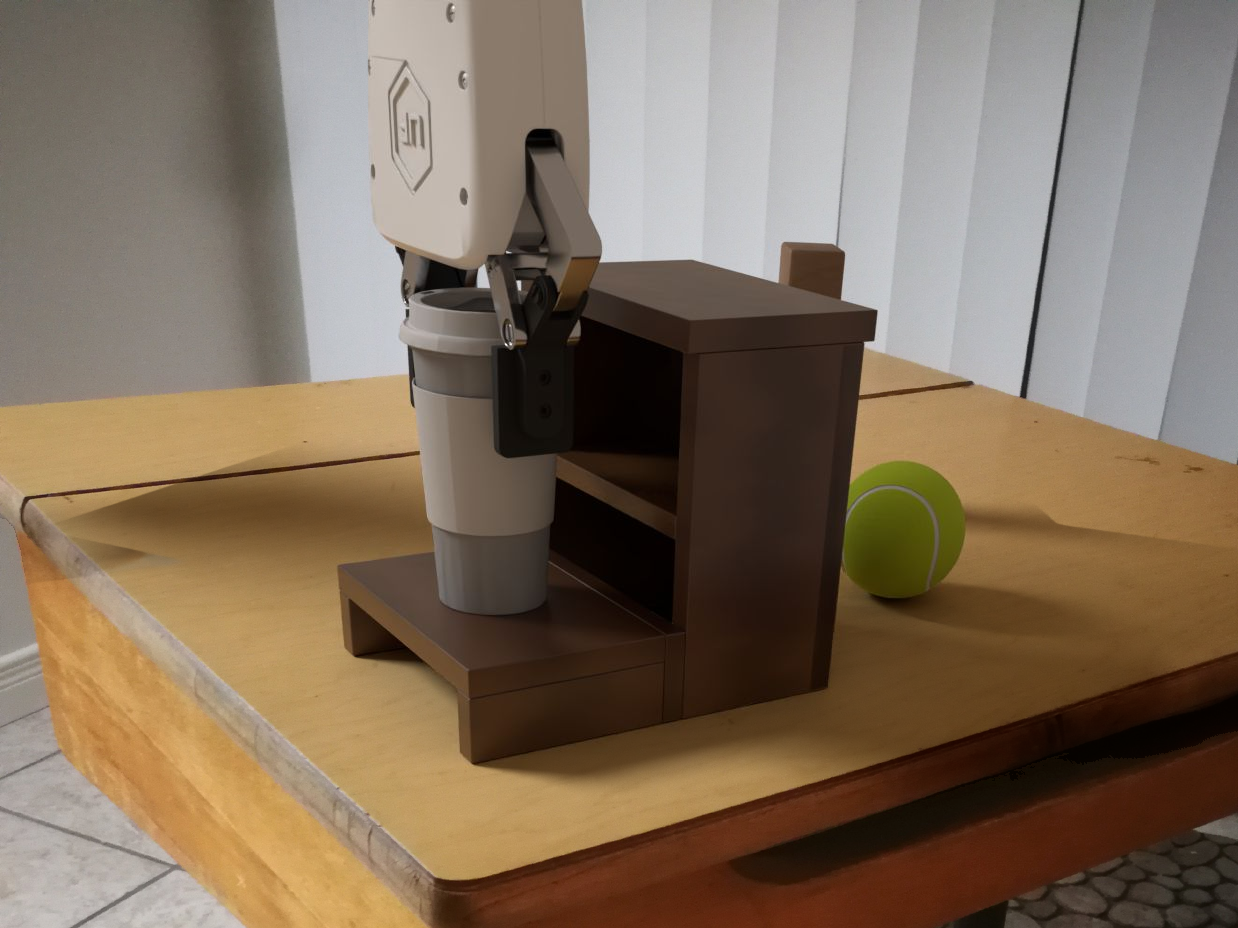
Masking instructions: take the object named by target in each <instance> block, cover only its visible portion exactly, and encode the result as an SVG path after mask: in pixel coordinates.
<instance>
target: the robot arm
mask: <svg viewBox="0 0 1238 928" xmlns="http://www.w3.org/2000/svg"><path fill="white" fill-rule="evenodd" d="M368 1H369V2H368V27H367V99H368V101H367V104H368V105H367V106H368V107H367V108H368V141H369V145H368V146H369V148H368V149H369V179H370V181H369V182H370V205H371V215H372V221H373V223H374V226H375V228H376V230H377V231H378V232H379V234H380V235H381V236H382V238H384V239H385V240H386V241H387V242H389V244H391V245H393V246H394V249H395V252H396V254H397V255H398V257H399V260H400V262H401V265H402V272H401V279H400V295H401V299H402V302H403V304H404V306H405V307H406V308H405V318H407V317H409V299H410V297H411V296H412V295H414V294H416V293H420V292H423V291H429V290H436V289H447V288H476V284H477V279H478V274H479V269H480V268H482V267H483V266H484V267H485V272H486V276H487V280H488V285H489V288H490V290H491V294H492V298H493V303H494V307H495V312H496V316H497V320H498V325H499V329H500V333H501V338H502V341H503V344H504V345H498V346H491V356H492V396H493V436H494V449H495V451H496V452H497V453H498V454H499V455H501V456H503V457H505V458H518V457H527V456H537V455H547V454H556V453H565V452H568V451H569V450H570V449H571V448H572V446H573V428H574V346H577V344H578V343H579V341H580V336H581V327H580V321H579V318H580V316H581V315H582V313H583V311H584V309H585V307H586V304H587V300H588V298H589V294H588V288H589V286H590V283H591V281H592V278H593V276H594V274H595V271H596V269H597V266H598V264H599V262H600V261H601V258H602V255H603V244H602V239H601V236H600V234H599V232H598V229H597V228H596V226H595V223H594V221H593V219H592V217H591V215H590V213H589V212H590V184H591V182H590V181H591V175H590V174H591V162H590V161H591V151H590V150H591V149H590V147H591V144H590V142H591V140H590V113H589V112H590V111H589V109H590V107H589V86H588V85H589V84H588V61H587V48H586V47H587V46H586V33H585V19H584V10H583V9H584V8H583V0H368ZM525 280H534V281H533V283H532V285H531V287H530V289H529V292H528V294H527V296H526V298H525V300H524V302H523V304H522V303H521V299H520V295H519V287H518V282H521V281H525ZM406 345H407V344H406ZM407 361H408V364H407V365H408V382H409V398H410V399H409V400H410V401H409V402H410V405H411V406H412V408H414V409H415V404H414V396H413V387H412V381H413V379H414V378H415V370H414V361H413V352H412V349H411V348H410V347H409V346H408V345H407Z"/></svg>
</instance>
